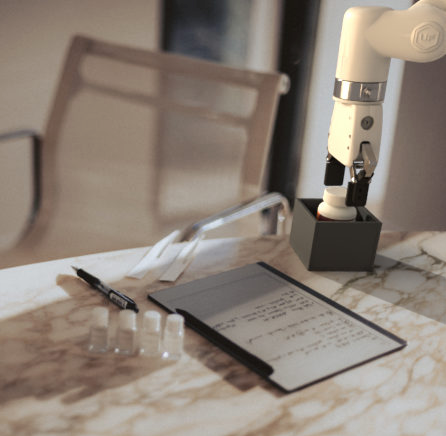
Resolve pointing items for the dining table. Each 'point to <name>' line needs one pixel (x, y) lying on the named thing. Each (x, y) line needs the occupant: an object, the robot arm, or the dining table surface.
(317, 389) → the dining table surface
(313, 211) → the waste bin
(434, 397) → the dining table surface
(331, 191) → the pill bottle
